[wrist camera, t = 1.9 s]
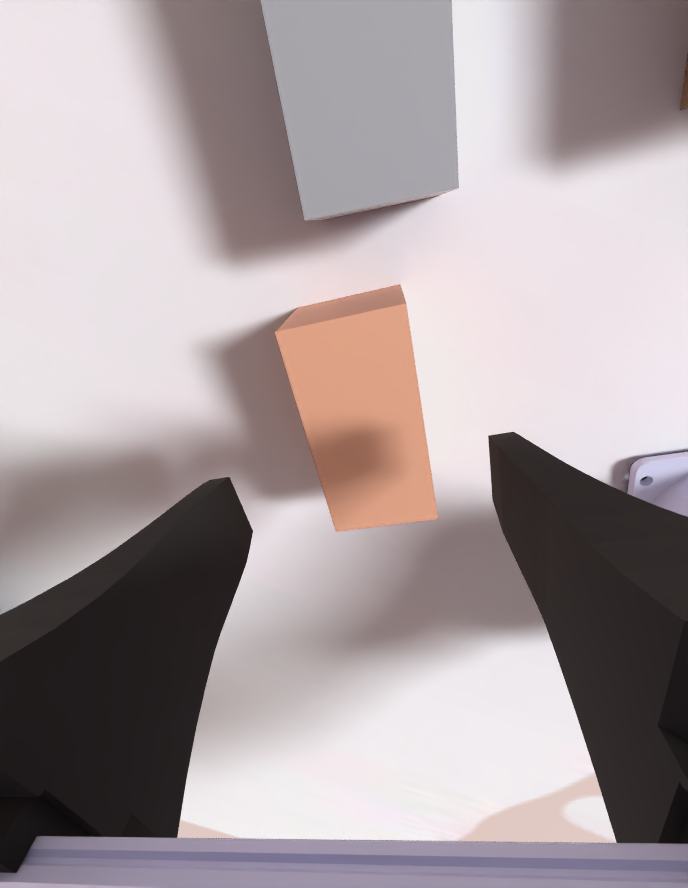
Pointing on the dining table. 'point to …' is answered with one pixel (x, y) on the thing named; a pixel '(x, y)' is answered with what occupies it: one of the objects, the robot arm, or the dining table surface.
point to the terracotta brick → (361, 407)
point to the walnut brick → (685, 89)
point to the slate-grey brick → (366, 100)
